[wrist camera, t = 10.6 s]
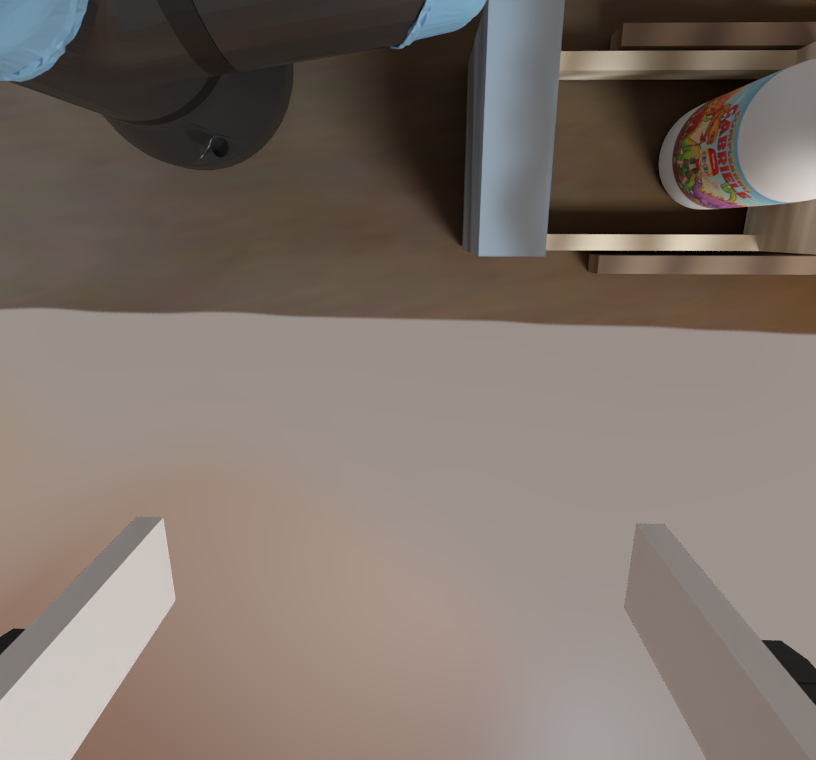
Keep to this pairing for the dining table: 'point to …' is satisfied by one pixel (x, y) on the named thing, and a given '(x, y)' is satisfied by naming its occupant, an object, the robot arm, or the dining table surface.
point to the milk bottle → (746, 145)
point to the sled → (535, 129)
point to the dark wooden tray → (708, 39)
